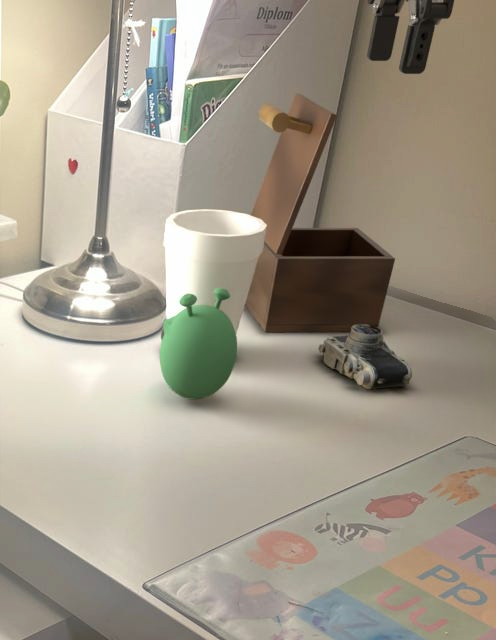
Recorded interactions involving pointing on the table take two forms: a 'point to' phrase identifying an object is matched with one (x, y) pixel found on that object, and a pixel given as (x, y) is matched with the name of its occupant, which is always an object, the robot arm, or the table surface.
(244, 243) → the foam cup
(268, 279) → the bin
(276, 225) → the bin lid
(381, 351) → the camera
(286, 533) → the table surface
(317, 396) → the table surface
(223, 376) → the alien toy
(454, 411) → the table surface
